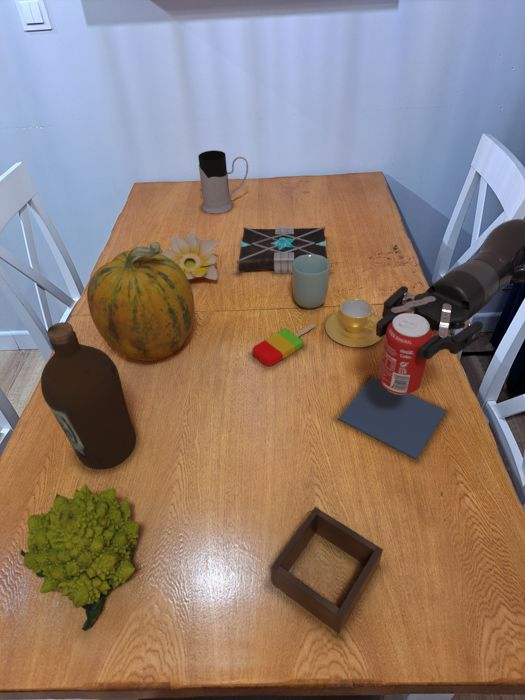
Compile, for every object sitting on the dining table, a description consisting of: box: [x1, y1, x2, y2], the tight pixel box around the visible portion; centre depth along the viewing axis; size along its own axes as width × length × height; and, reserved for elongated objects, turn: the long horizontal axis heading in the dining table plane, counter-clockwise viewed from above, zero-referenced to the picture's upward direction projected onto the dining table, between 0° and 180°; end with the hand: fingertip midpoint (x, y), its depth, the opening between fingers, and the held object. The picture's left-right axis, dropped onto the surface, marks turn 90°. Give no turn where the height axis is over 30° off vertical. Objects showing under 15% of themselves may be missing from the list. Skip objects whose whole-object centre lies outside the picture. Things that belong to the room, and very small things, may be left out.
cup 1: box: [291, 254, 331, 310], centre depth 104 cm, size 8×8×10 cm
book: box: [236, 226, 330, 274], centre depth 121 cm, size 22×17×5 cm
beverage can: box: [378, 312, 433, 395], centre depth 72 cm, size 6×6×12 cm
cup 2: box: [324, 297, 384, 348], centre depth 98 cm, size 12×12×5 cm
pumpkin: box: [86, 241, 195, 362], centre depth 91 cm, size 19×19×25 cm
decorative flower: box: [160, 231, 219, 281], centre depth 114 cm, size 15×11×10 cm
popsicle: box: [252, 323, 317, 367], centre depth 97 cm, size 6×15×2 cm, turn 131°
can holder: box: [270, 506, 384, 635], centre depth 62 cm, size 10×10×5 cm
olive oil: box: [40, 321, 137, 470], centre depth 72 cm, size 11×11×25 cm
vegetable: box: [20, 483, 140, 632], centre depth 63 cm, size 15×16×15 cm
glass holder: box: [197, 149, 249, 214], centre depth 139 cm, size 9×14×15 cm, turn 100°
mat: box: [338, 376, 447, 460], centre depth 83 cm, size 14×12×1 cm
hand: (398, 342), depth 68 cm, fingers closed on beverage can, 6 cm apart
